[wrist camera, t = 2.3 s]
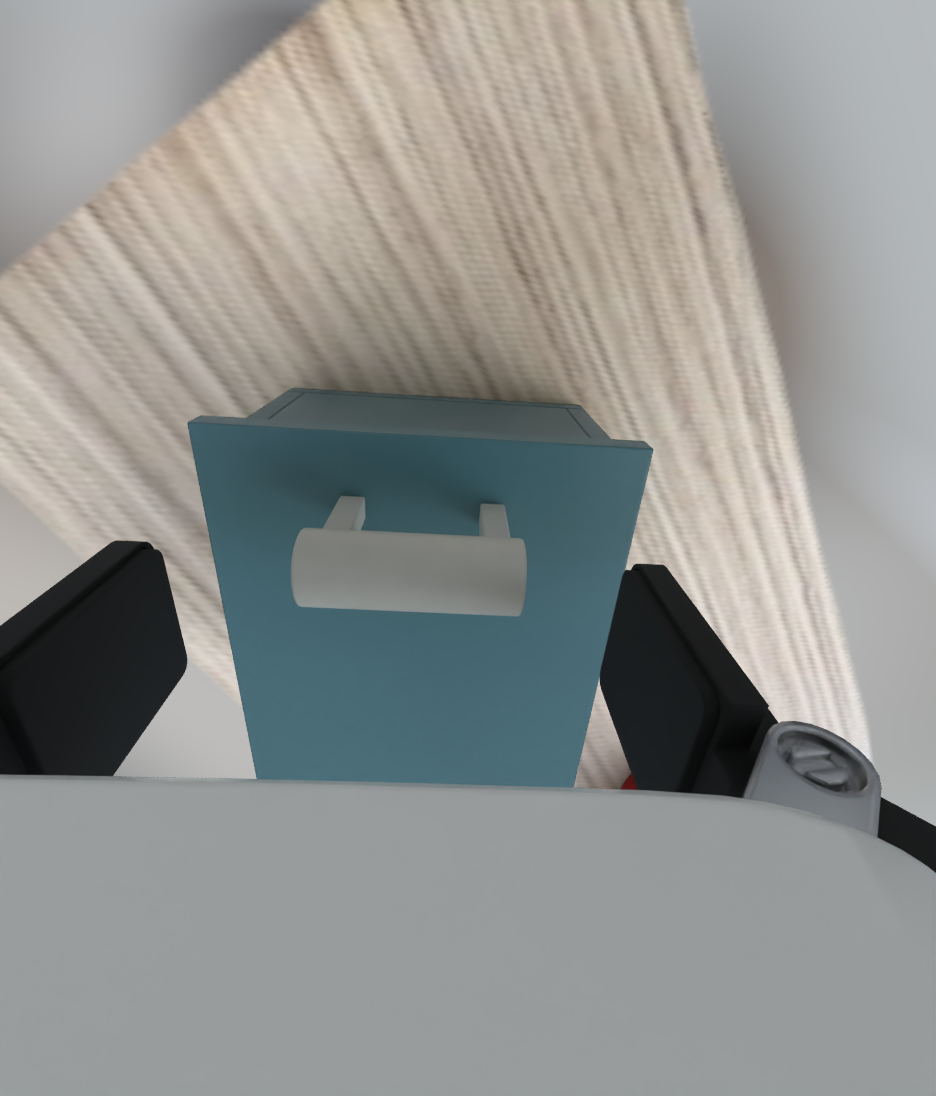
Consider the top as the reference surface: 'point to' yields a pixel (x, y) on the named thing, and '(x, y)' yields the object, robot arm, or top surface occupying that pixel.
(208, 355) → the top surface
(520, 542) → the lid
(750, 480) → the top surface
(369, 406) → the chest
